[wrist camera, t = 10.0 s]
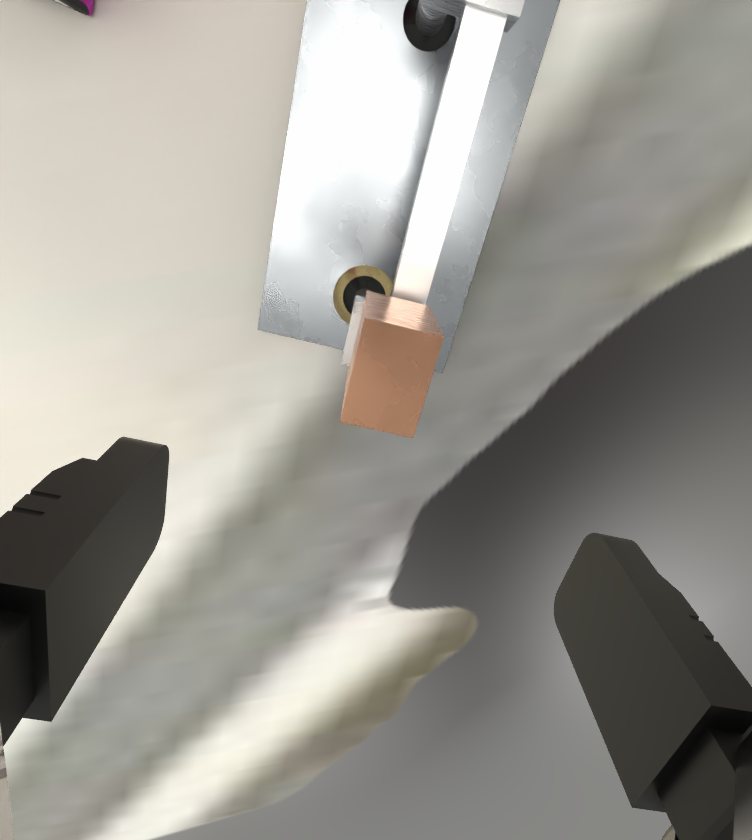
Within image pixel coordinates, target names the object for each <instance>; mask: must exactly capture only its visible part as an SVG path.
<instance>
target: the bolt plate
mask: <svg viewBox="0 0 752 840" xmlns="http://www.w3.org/2000/svg"><path fill="white" fill-rule="evenodd" d="M559 2H560V0H307V5H306V11H305V18H304V25H303V31H302V38H301V45H300V51H299V58H298V65H297V71H296V78H295V85H294V91H293V98H292V105H291V111H290V118H289V125H288V131H287V138H286V145H285V151H284V158H283V165H282V171H281V178H280V185H279V191H278V198H277V205H276V211H275V218H274V225H273V231H272V238H271V244H270V251H269V258H268V264H267V271H266V278H265V284H264V291H263V298H262V304H261V311H260V318H259V324H258V330H261V331H265V332H270V333H274V334H278V335H283V336H287V337H291V338H295V339H300V340H304V341H308V342H312V343H317V344H321V345H325V346H329V347H334V348H338V349H342V350H344V346H345V342H346V338H347V333H348V329H349V324H350V318H351V313H352V308H353V302H354V297H355V294H356V292H357V291H358V290H360V289H363V288H366V289H369V290H371V291H372V292H375V293H379V294H383V295H387V296H391V297H395V298H399V299H403V300H407V301H411V302H415V303H419V304H423V305H427V306H430V308H431V310H432V312H433V314H434V316H435V318H436V320H437V323H438V325H439V327H440V329H441V331H442V333H443V335H444V339H443V342H442V346H441V349H440V352H439V355H438V359H437V362H436V365H435V368H434V371H436V372H440V373H443V370H444V367H445V364H446V360H447V357H448V354H449V351H450V348H451V345H452V341H453V338H454V335H455V332H456V329H457V326H458V322H459V319H460V316H461V313H462V310H463V307H464V303H465V300H466V297H467V294H468V291H469V288H470V284H471V281H472V278H473V275H474V272H475V269H476V265H477V262H478V259H479V256H480V253H481V250H482V246H483V243H484V240H485V237H486V234H487V231H488V227H489V224H490V221H491V218H492V215H493V212H494V208H495V205H496V202H497V199H498V196H499V193H500V189H501V186H502V183H503V180H504V177H505V174H506V170H507V167H508V164H509V161H510V158H511V155H512V151H513V148H514V145H515V142H516V139H517V136H518V132H519V129H520V126H521V123H522V120H523V116H524V113H525V110H526V107H527V104H528V101H529V97H530V94H531V91H532V88H533V85H534V82H535V78H536V75H537V72H538V69H539V66H540V63H541V59H542V56H543V53H544V50H545V47H546V44H547V40H548V37H549V34H550V31H551V28H552V25H553V21H554V18H555V15H556V12H557V9H558V6H559Z"/></svg>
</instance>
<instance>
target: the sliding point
mask: <svg viewBox="0 0 752 840" xmlns="http://www.w3.org/2000/svg"><path fill="white" fill-rule="evenodd" d="M443 339H444V335H443V333H442V331H441V329H440V327H439V325H438V323H437V320H436V318H435V316H434V314H433V312H432V310H431V308H430V306H427V305H423V304H419V303H415V302H411V301H407V300H403V299H399V298H395V297H391V296H387V295H383V294H379V293H375V292H372V291H371V290H369V289H366V288H363V289H360V290H358V291H357V292H356V294H355V297H354V302H353V308H352V313H351V318H350V324H349V329H348V333H347V338H346V342H345V346H344V351H343V355H342V360H341V365H346V366H349V370H348V374H347V379H346V386H345V392H344V399H343V406H342V413H341V419H340V422H342V423H347V424H351V425H356V426H360V427H365V428H370V429H374V430H379V431H383V432H388V433H392V434H397V435H401V436H406V437H410V438H413V437H414V433H415V430H416V427H417V424H418V420H419V417H420V414H421V411H422V407H423V404H424V401H425V398H426V394H427V391H428V388H429V385H430V381H431V378H432V375H433V372H434V368H435V365H436V362H437V359H438V355H439V352H440V349H441V346H442V342H443Z"/></svg>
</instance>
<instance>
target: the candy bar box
mask: <svg viewBox="0 0 752 840" xmlns="http://www.w3.org/2000/svg"><path fill="white" fill-rule="evenodd" d="M54 1H56V2H58V3H60V4H63V5H65V6H67V7H69V8H72V9H74V10H76V11H78V12H81V13H83V14H85V15H88V16H91V15H92V12H93V4H94V0H54Z"/></svg>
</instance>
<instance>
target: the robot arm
mask: <svg viewBox="0 0 752 840" xmlns="http://www.w3.org/2000/svg"><path fill="white" fill-rule="evenodd" d="M168 465H169V449H168V447H167V446H166V445H162V444H157V443H152V442H147V441H142V440H137V439H132V438H127V437H121V438H119V439H118V440H117V441H116V442H115V443H114V444H113V445H112V446H111V447H110V448H109V449H108V450H107V451H106V452H105V453H104V454H103V455H102V456H101V457H100V458H99V459H98V460H97V461H96V460H91V459H85V458H81V459H79V460H77V461H74V462H72V463H70V464H68V465H65V466H63V467H61V468H58V469H56V470H54V471H52V472H51V473H50V474H49V475H47V476H46V477H45V478H44V479H43V480H42V481H41V482H40V483H39V484H37V485H36V486H35V487H34V488H33V489H32V490H31V493H30V495H29V494H26V495H25V496H24V497H23V498H22V499H21V500H20V501H18V502H17V503H16V504H15V505H14V506H13V509H12V511H7V512H6V513H5V514H4V515H3V516H2V517H0V840H15V839H14V831H13V822H12V814H11V806H10V797H9V789H8V781H7V772H6V764H5V756H4V750H3V746H4V745H5V743H6V742H7V740H8V739H9V737H10V736H11V734H12V733H13V731H14V729H15V728H16V726H17V725H18V723H19V722H20V720H21V719H22V718H29V719H36V720H43V721H50V722H51V721H52V720H53V718H54V716H55V715H56V713H57V711H58V710H59V708H60V706H61V705H62V703H63V701H64V700H65V698H66V696H67V695H68V693H69V691H70V690H71V688H72V686H73V685H74V683H75V681H76V680H77V678H78V676H79V675H80V673H81V671H82V670H83V668H84V666H85V665H86V663H87V661H88V660H89V658H90V656H91V655H92V653H93V651H94V650H95V648H96V646H97V645H98V643H99V641H100V640H101V638H102V636H103V635H104V633H105V631H106V630H107V628H108V626H109V625H110V623H111V621H112V620H113V618H114V616H115V615H116V613H117V611H118V610H119V608H120V606H121V605H122V603H123V601H124V600H125V598H126V596H127V595H128V593H129V591H130V590H131V588H132V586H133V585H134V583H135V581H136V580H137V578H138V576H139V575H140V573H141V571H142V570H143V568H144V566H145V565H146V563H147V561H148V560H149V558H150V556H151V555H152V553H153V551H154V549H155V547H156V545H157V543H158V540H159V537H160V534H161V531H162V527H163V523H164V516H165V504H166V491H167V478H168ZM554 617H555V622H556V625H557V628H558V630H559V633H560V635H561V637H562V640H563V642H564V645H565V647H566V650H567V652H568V654H569V656H570V659H571V661H572V664H573V666H574V669H575V671H576V674H577V676H578V679H579V681H580V683H581V686H582V688H583V691H584V693H585V695H586V698H587V700H588V703H589V705H590V707H591V710H592V712H593V715H594V717H595V719H596V722H597V724H598V727H599V729H600V732H601V734H602V736H603V739H604V741H605V744H606V746H607V748H608V751H609V753H610V756H611V758H612V760H613V763H614V765H615V768H616V770H617V773H618V775H619V777H620V780H621V782H622V785H623V787H624V789H625V792H626V794H627V797H628V799H629V801H630V804H631V806H632V808H639V809H646V810H653V811H660V812H666V813H667V815H668V817H669V820H670V822H671V824H672V825H671V826H670V827H669V828H668V830H667V831H666V832H665V834H664V836H663V837H662V840H752V687H751V685H750V684H749V683H748V681H747V680H746V679H745V678H744V676H743V675H742V673H741V672H740V671H739V670H738V668H737V667H736V666H735V664H734V663H733V661H732V660H731V659H730V658H729V656H728V655H727V653H726V652H725V651H724V650H723V648H722V647H721V646H720V644H719V643H718V642H715V641H714V640H713V638H714V636H713V635H712V634H711V632H710V631H709V630H708V628H707V627H706V626H705V624H704V623H703V622H702V621H699V620H698V618H699V616H698V615H697V614H696V612H695V611H694V610H693V608H692V607H691V606H690V604H689V603H688V602H687V601H686V599H685V598H684V596H683V595H682V594H681V593H680V592H679V591H678V590H677V589H676V588H675V587H673V586H672V585H671V584H670V583H669V582H668V581H667V580H665V579H664V578H663V577H662V576H661V575H660V574H659V573H658V572H657V571H656V570H655V568H654V567H653V565H652V564H651V563H650V561H649V560H648V558H647V557H646V556H645V554H644V553H643V552H642V550H641V549H640V547H639V546H638V545H637V544H636V543H635V542H634V541H632V540H628V539H623V538H618V537H613V536H608V535H603V534H598V533H591V534H589V535H588V536H586V538H585V539H584V540H583V542H582V544H581V546H580V548H579V549H578V551H577V553H576V555H575V558H574V559H573V561H572V563H571V565H570V567H569V569H568V571H567V573H566V575H565V577H564V579H563V581H562V583H561V585H560V587H559V589H558V591H557V593H556V597H555V602H554Z"/></svg>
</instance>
